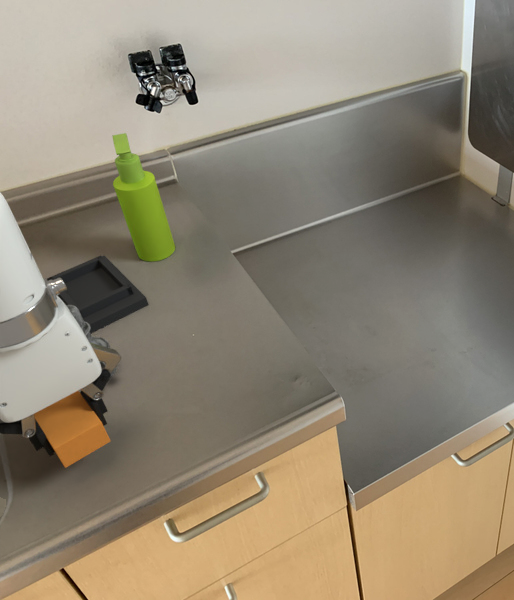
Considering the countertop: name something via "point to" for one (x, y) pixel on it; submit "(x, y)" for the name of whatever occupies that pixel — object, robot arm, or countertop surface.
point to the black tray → (100, 292)
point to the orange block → (72, 428)
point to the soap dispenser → (141, 204)
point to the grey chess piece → (88, 329)
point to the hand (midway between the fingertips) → (73, 431)
